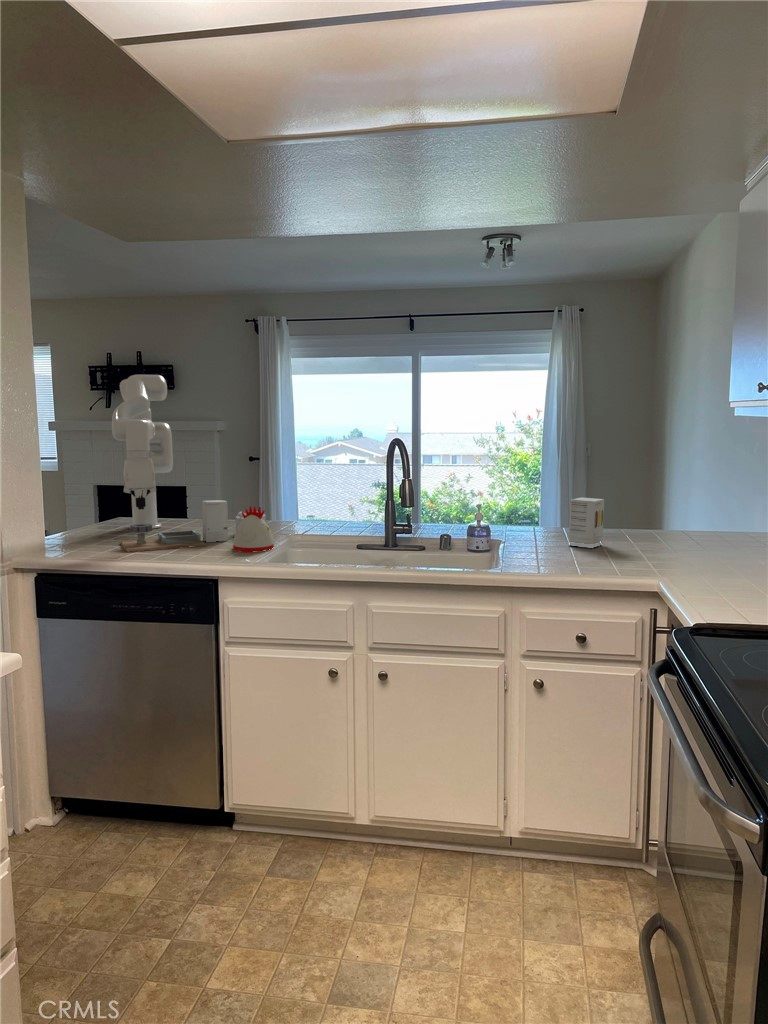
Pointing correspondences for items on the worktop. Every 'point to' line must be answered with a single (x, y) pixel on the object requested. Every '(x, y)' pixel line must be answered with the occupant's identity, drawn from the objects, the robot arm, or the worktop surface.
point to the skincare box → (215, 520)
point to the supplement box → (586, 520)
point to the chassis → (164, 541)
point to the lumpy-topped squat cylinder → (240, 518)
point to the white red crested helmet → (253, 533)
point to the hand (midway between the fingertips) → (140, 509)
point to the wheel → (140, 528)
